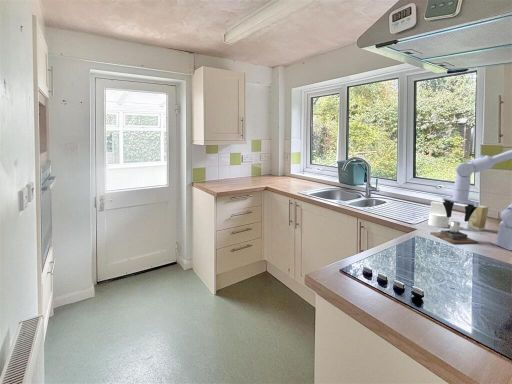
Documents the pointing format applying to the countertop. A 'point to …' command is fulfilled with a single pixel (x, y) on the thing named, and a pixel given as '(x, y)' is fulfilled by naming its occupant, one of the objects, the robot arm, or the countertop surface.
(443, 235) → the dock
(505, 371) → the countertop surface
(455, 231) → the clear glass cylinder
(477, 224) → the skincare box
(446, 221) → the cylinder with rectangular tab
